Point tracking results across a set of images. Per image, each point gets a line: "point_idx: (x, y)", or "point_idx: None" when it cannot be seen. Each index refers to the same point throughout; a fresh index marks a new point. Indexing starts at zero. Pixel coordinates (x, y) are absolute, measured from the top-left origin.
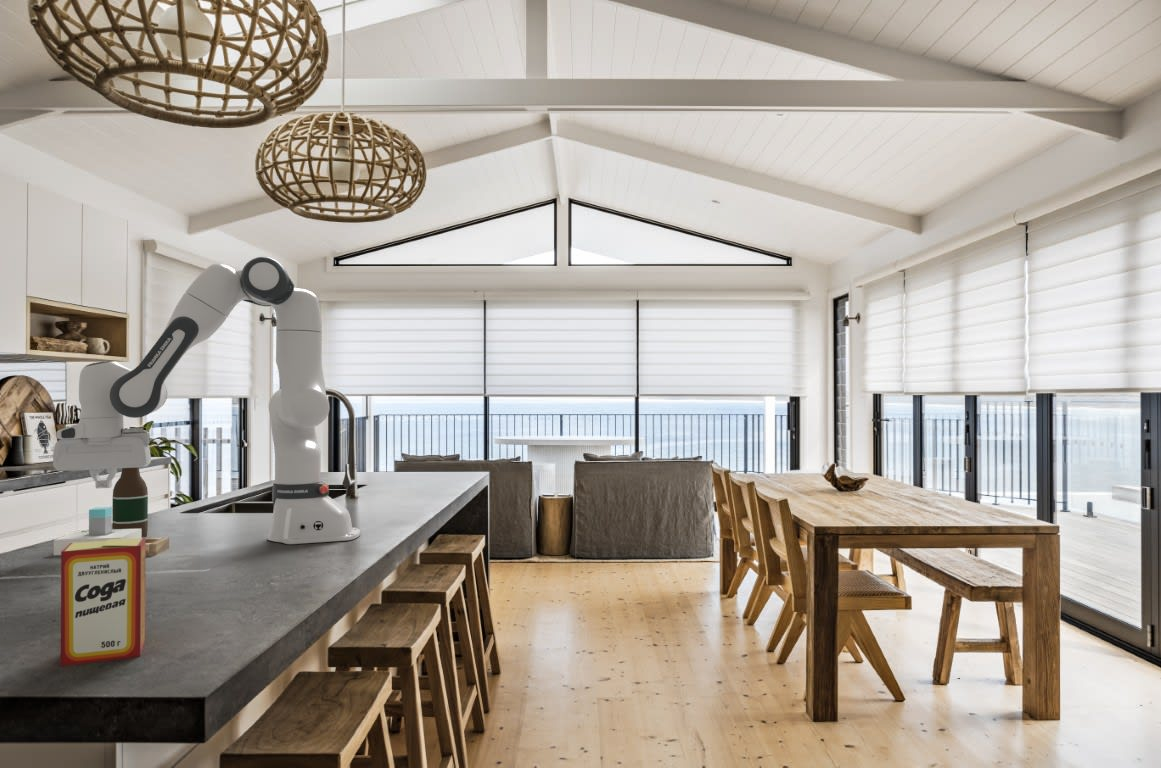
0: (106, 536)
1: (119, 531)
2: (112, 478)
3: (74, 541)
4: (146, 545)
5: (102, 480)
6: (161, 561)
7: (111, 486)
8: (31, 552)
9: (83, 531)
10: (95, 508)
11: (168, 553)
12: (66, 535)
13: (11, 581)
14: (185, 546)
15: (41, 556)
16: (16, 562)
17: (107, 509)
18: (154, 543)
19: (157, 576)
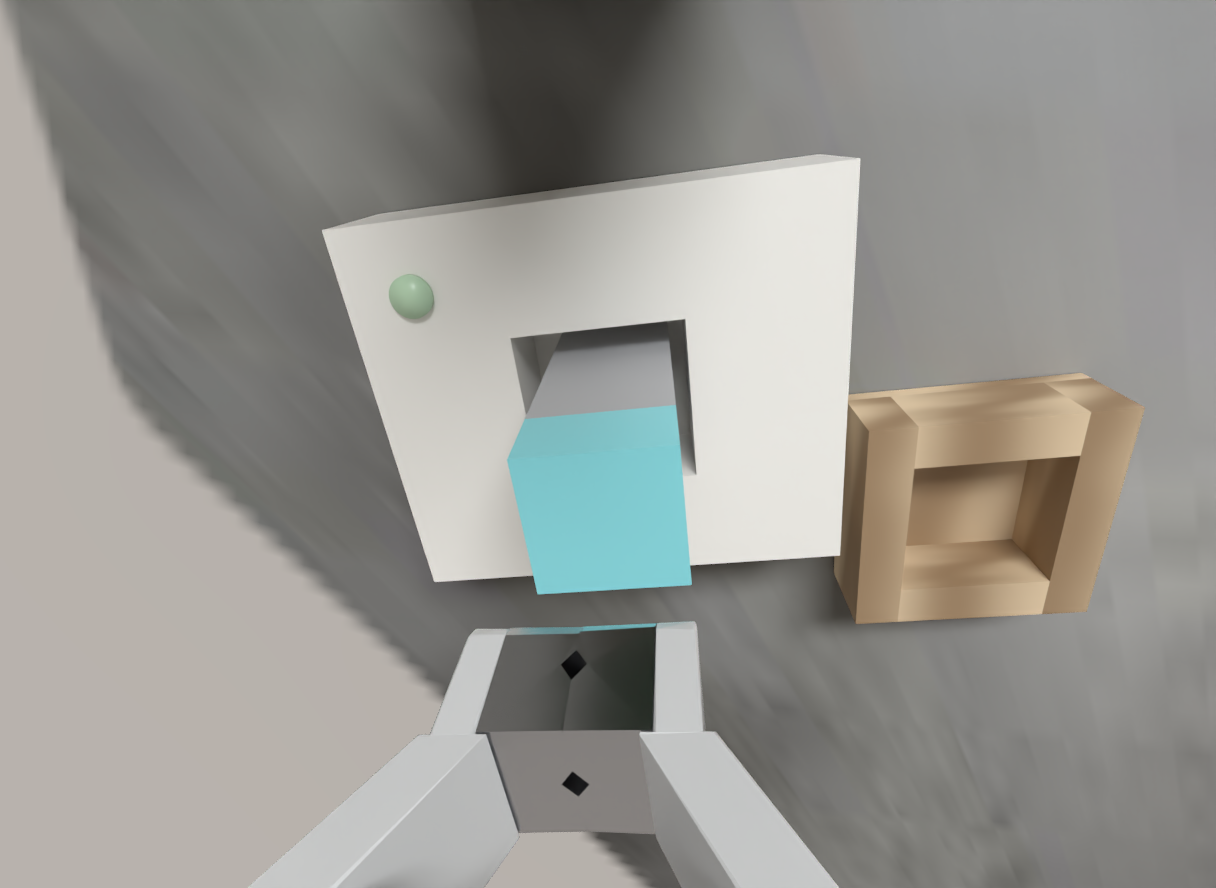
0: (719, 511)
1: (717, 314)
2: (734, 778)
3: None
4: (1020, 609)
5: (553, 785)
6: (1084, 640)
7: (696, 632)
8: (220, 380)
9: (420, 317)
10: (552, 528)
11: None
12: (405, 456)
13: (607, 846)
14: (1188, 236)
15: (377, 489)
16: (369, 603)
17: (687, 535)
18: (1070, 595)
19: (1111, 844)
